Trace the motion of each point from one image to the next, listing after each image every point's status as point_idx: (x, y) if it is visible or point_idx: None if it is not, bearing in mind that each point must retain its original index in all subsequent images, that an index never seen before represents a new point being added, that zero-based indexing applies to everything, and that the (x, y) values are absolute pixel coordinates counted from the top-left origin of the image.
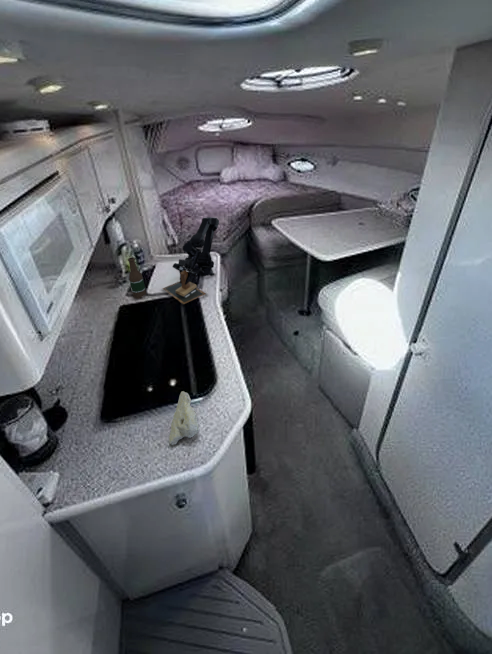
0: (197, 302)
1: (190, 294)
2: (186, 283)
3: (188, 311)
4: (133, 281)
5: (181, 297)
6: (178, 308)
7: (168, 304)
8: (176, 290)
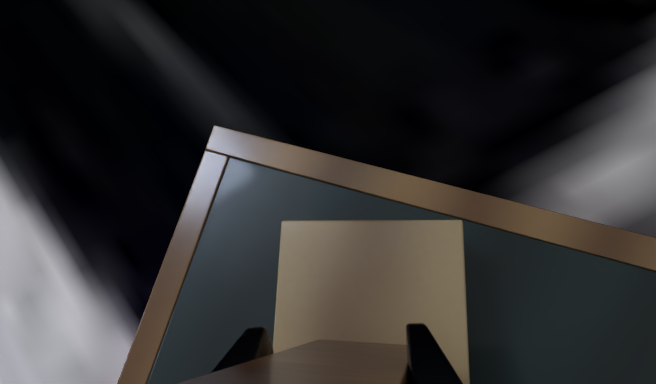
0: (124, 269)
1: None
2: None
3: (120, 88)
4: None
5: None
6: (248, 73)
7: (408, 70)
8: (441, 226)
